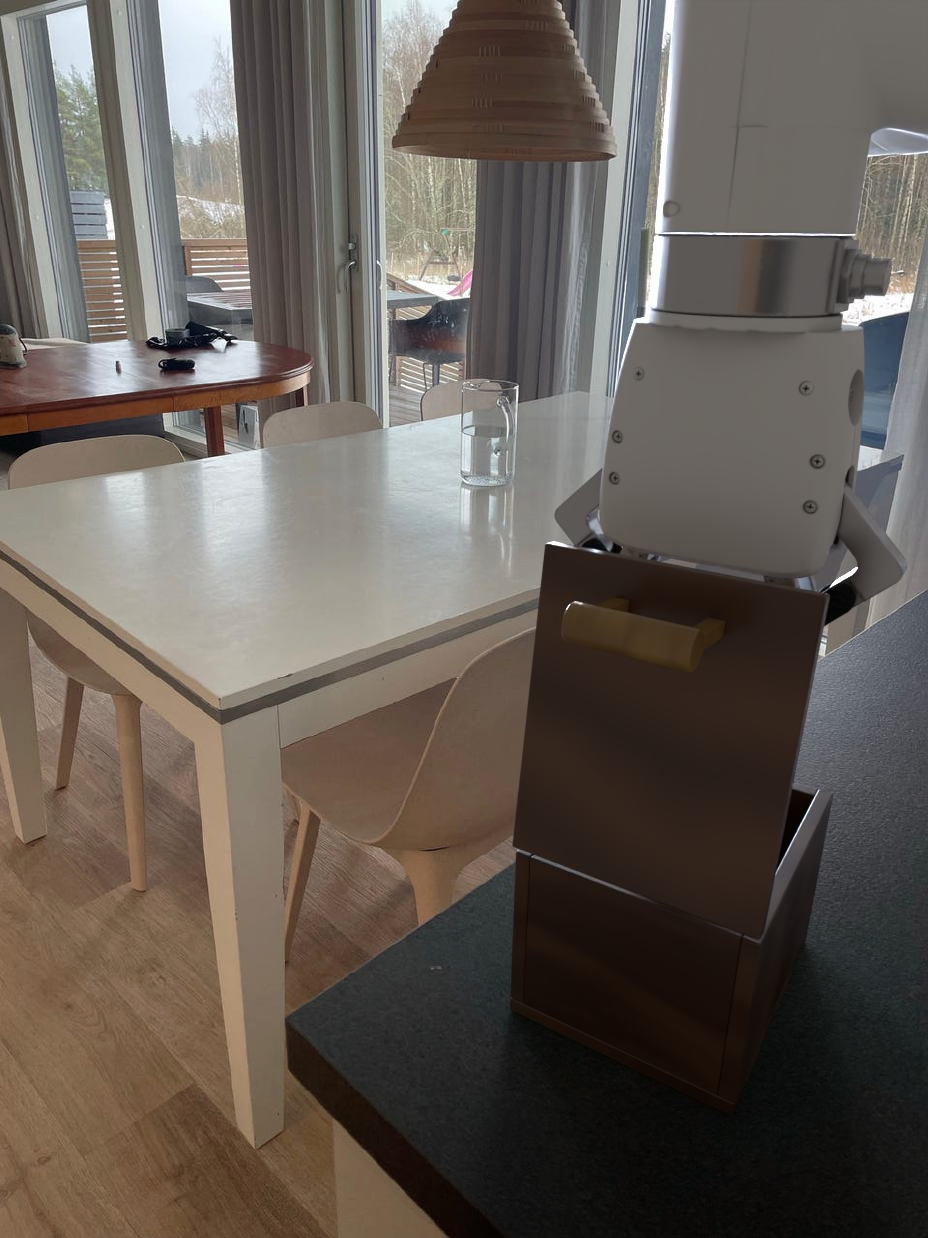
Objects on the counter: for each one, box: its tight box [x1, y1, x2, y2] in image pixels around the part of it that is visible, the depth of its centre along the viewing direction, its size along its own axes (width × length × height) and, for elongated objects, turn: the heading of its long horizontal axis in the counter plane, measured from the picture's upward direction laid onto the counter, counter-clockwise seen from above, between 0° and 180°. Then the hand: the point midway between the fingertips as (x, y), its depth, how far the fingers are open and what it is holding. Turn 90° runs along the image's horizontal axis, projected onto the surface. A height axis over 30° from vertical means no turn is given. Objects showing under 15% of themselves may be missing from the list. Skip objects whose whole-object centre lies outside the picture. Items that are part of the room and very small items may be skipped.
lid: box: [511, 541, 830, 940], centre depth 37 cm, size 14×12×5 cm
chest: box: [509, 781, 834, 1117], centre depth 48 cm, size 14×12×10 cm
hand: (698, 689), depth 44 cm, fingers closed on beverage cup, 6 cm apart
